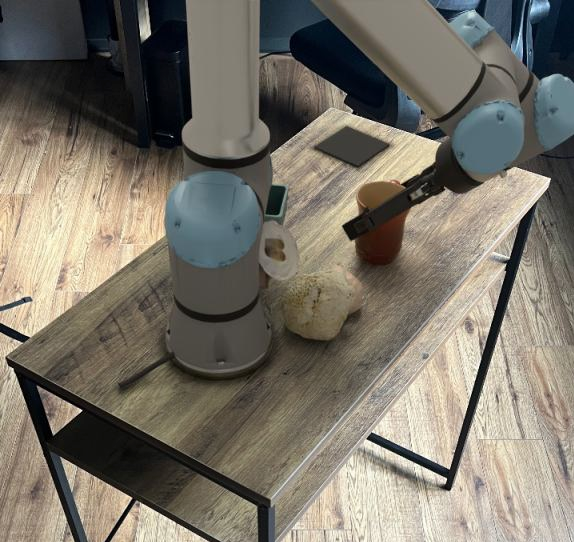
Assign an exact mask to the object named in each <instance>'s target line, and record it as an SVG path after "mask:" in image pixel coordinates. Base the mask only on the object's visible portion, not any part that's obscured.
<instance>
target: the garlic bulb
mask: <svg viewBox="0 0 574 542" xmlns="http://www.w3.org/2000/svg"><path fill="white" fill-rule="evenodd" d="M330 269H336V270H338V271H343V273H344V274H345V276H346V278H347V280H348V282H349V283H350V285H352V286H353V288H354V290H355V300H354V306H353V308H352V309H351V310H350V311H349V313H348V314H353V313H355V312H357V311H358V310H359V309H360V308H361V306H362V303H363V296H364V287H363V285H362V282H361V281H360V280H359V279H358V278H357V277H356V276H354V275H353V274H351V273H350V272H349V271H348V270H347V269H345V268H344V267H343V265H342V262H341V261H340V262H337V265H332V266H331V267H329V269H328V270H330ZM348 314H347V315H348Z"/></svg>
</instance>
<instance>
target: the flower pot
mask: <svg viewBox="0 0 574 542" xmlns="http://www.w3.org/2000/svg"><path fill="white" fill-rule="evenodd" d="M289 190H290V187H289V185H287V184H280V183H272V185H271V188H270V192H269V196H268V202H267V207H266V213H265V218H264V222H268V221H271V220H274V221H277V223H278V224H279V225H282V226H283V227H284V223H285V218H286V213H287V207H288V199H289ZM282 207H283V209H282ZM263 224H264V223H263ZM279 235H280V234H279ZM280 236H281V235H280Z"/></svg>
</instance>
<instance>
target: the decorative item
mask: <svg viewBox="0 0 574 542" xmlns="http://www.w3.org/2000/svg"><path fill="white" fill-rule="evenodd" d="M329 269H330V268H329ZM329 269H326V270H318V271H315V272H311V273H302V274H298V275H296V276H295V277H294V278H293V279H291V280H290V281H288V282H287V283H286V285H285V287H284V288H283V290H282V293H281V298H280V302H279V307H280V311H281V318H282V321H283V323H284V325H285V326H286V328H287V329H288V330H289V331H290V332H292V333H295V334H297V335H299V336H301V337H302V338H304V339H305V338H306V339H309V340H310V339H311V340H315V341H316V340H317V341H331V340H333V339H334V338H336V337H337V336H338V335H339V334H340V331H341V328H342V326H343V324H344V322H345V321H346V319H347V317H348V313H349V311H350V310H351V309H352V308H353V306H354V300H355V290H354V288H353V286H352V285H350V283H349V282H348V280H347V278H346V276H345V274H344V273H343V271H338V270H336V269H330V270H329Z"/></svg>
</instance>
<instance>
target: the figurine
mask: <svg viewBox="0 0 574 542" xmlns="http://www.w3.org/2000/svg"><path fill="white" fill-rule="evenodd" d="M282 209H283V207H282ZM279 234H280V235H281V236H280V235H279ZM300 260H301V257H300V252H299V248H298V245H297V241H296V238H295V237H294V236H293V235H292V233H291V230H290V229H288V227H287V226H284V225H283V226H282V225H279V224H278V223H277V221H274V220H271V221H268V222H264V224H263V230H262V236H261V241H260V249H259V290H264V291H265V290H269V286H270V279H271V278H272V279H275V280H278V281H288V280H289V279H292V278H293V277H294V275H295V274H296V273H297V271H298V269H299V263H300Z"/></svg>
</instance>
